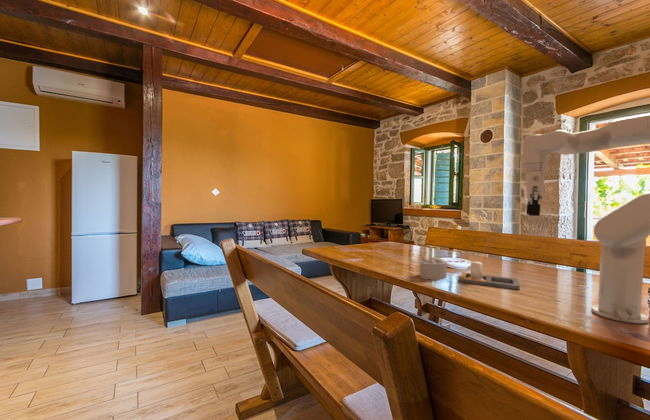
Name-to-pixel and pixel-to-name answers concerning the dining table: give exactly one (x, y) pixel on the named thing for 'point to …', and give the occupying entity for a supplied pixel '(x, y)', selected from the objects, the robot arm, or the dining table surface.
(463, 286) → the dining table surface
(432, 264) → the lumpy-topped squat cylinder
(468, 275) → the grey slotted board
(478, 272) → the flanged peg
